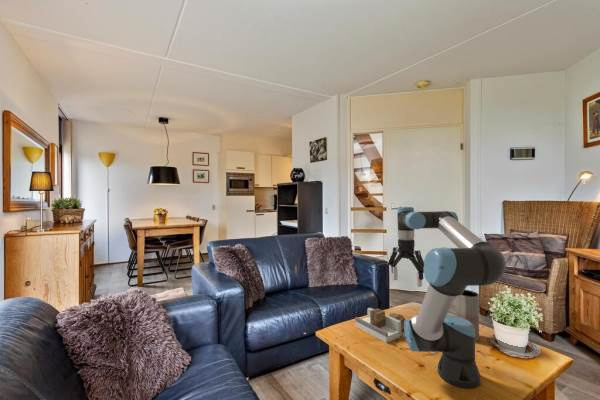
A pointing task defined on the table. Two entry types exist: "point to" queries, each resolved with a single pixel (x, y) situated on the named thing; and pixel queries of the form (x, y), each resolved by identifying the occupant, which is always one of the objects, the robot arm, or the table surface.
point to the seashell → (398, 318)
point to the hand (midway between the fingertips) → (406, 283)
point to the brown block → (377, 318)
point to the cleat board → (383, 333)
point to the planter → (469, 309)
